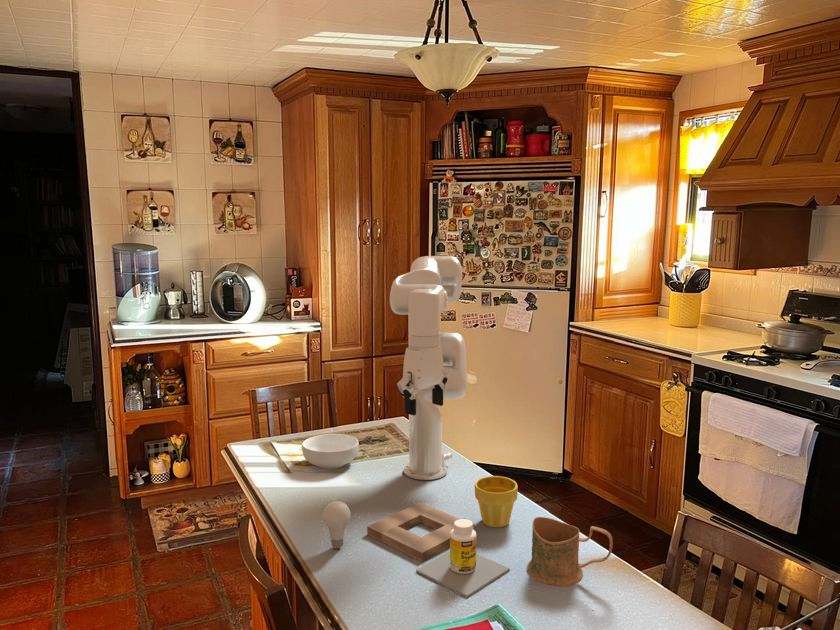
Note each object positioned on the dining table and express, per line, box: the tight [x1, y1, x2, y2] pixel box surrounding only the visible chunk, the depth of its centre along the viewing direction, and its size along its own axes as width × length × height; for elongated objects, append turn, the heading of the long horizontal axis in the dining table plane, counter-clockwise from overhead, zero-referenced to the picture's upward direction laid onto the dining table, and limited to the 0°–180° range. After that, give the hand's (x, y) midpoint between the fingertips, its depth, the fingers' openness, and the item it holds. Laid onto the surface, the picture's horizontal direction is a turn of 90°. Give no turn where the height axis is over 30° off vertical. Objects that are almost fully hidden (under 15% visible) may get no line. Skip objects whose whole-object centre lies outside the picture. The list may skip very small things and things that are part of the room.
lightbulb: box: [322, 500, 351, 550], centre depth 152 cm, size 6×6×11 cm
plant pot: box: [474, 475, 519, 528], centre depth 165 cm, size 10×10×10 cm
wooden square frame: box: [366, 502, 476, 562], centre depth 159 cm, size 18×18×2 cm
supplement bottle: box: [449, 518, 477, 574], centre depth 142 cm, size 6×6×10 cm
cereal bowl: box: [301, 433, 360, 470], centre depth 202 cm, size 17×17×7 cm
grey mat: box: [415, 550, 510, 598], centre depth 143 cm, size 14×14×1 cm
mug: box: [526, 516, 614, 587], centre depth 140 cm, size 12×18×12 cm, turn 58°
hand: (424, 409), depth 165 cm, fingers open, 9 cm apart
